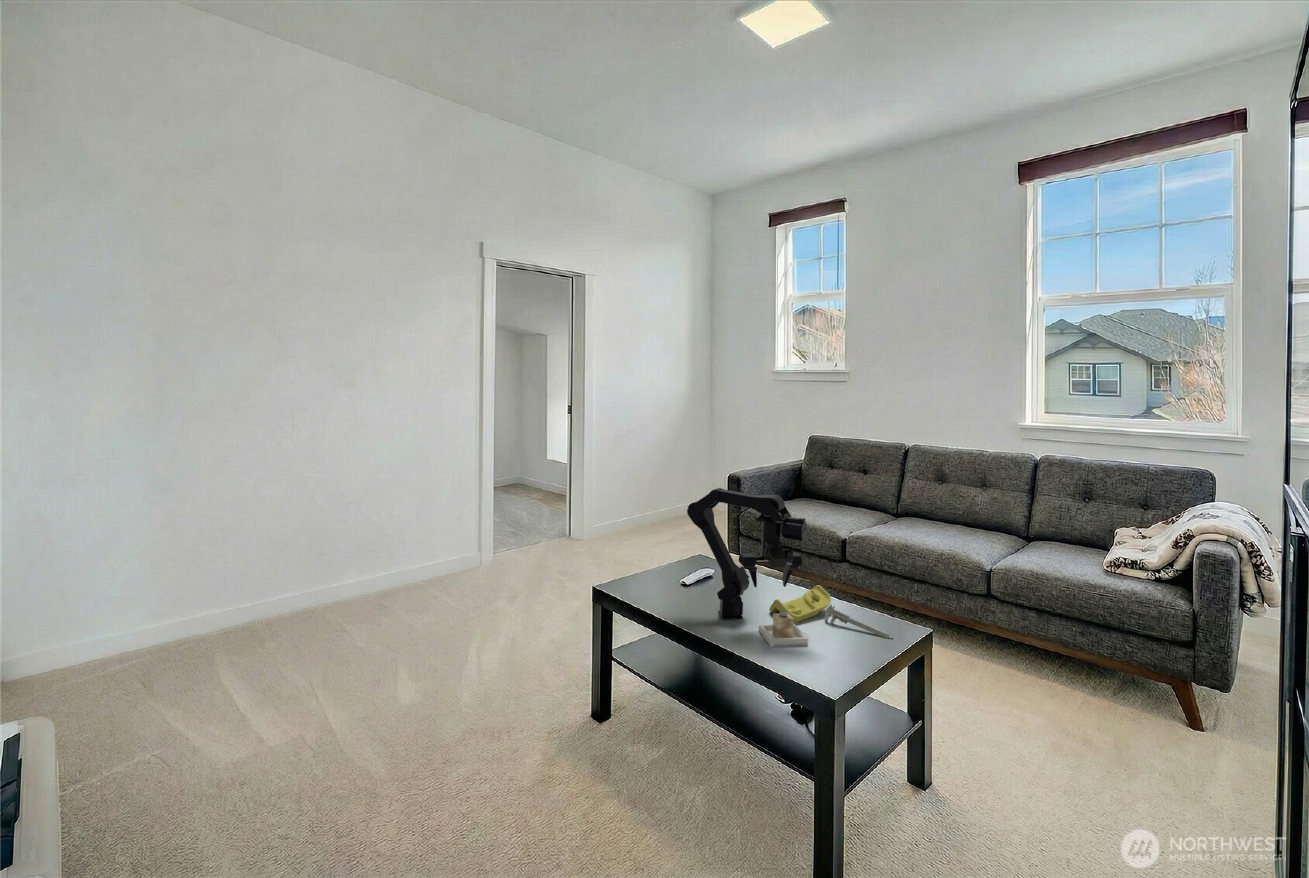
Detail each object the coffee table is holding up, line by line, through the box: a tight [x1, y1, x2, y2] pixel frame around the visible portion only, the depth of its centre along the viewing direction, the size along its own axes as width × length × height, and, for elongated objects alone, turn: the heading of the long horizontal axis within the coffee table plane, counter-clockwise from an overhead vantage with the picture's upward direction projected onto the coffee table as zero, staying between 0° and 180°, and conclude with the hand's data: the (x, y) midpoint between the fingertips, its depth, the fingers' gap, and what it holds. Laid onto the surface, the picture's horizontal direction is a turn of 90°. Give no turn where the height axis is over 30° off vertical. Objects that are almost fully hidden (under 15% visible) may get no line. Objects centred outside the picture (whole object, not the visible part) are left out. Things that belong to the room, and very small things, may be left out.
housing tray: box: [758, 623, 809, 648], centre depth 174 cm, size 11×11×2 cm
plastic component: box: [769, 584, 832, 624], centre depth 195 cm, size 20×7×10 cm
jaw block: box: [772, 611, 794, 638], centre depth 174 cm, size 4×4×7 cm
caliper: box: [824, 603, 894, 639], centre depth 181 cm, size 20×1×6 cm, turn 54°
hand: (769, 586), depth 183 cm, fingers open, 9 cm apart
